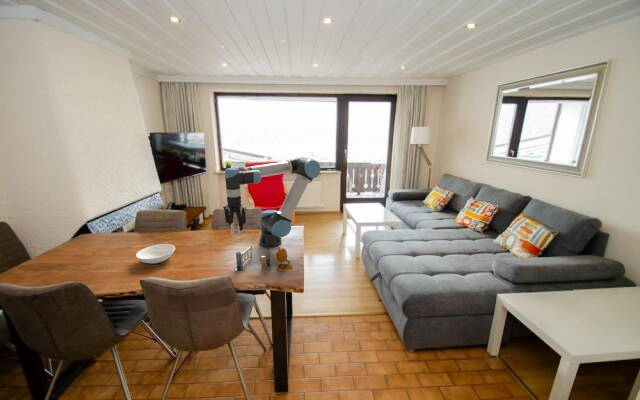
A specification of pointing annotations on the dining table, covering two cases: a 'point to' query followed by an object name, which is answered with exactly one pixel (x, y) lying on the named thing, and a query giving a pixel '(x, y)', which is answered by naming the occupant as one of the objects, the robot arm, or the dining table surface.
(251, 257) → the gate
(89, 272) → the dining table surface
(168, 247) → the bowl
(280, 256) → the figurine
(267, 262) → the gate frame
